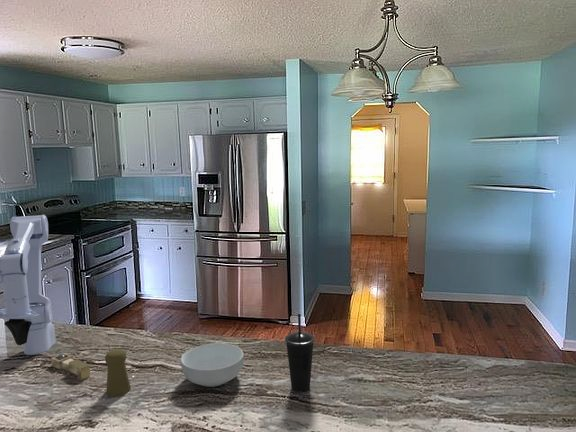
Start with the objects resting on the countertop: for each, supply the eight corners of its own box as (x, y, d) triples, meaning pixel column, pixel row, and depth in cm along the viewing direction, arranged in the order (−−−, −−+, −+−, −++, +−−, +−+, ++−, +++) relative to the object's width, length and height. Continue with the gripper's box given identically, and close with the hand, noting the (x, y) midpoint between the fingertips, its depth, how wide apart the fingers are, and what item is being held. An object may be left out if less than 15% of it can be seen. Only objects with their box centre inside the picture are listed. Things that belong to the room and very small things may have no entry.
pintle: (61, 366, 130) (60, 354, 130) (67, 366, 130) (66, 354, 130) (58, 369, 128) (56, 356, 128) (64, 369, 128) (62, 356, 128)
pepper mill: (122, 397, 113) (119, 357, 111) (101, 395, 114) (97, 355, 112) (135, 385, 119) (132, 346, 117) (115, 383, 120) (111, 345, 118)
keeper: (90, 380, 122) (89, 365, 121) (82, 383, 120) (80, 368, 119) (78, 373, 126) (77, 358, 125) (70, 376, 124) (68, 362, 123)
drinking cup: (318, 382, 118) (317, 310, 115) (310, 397, 111) (309, 321, 108) (291, 378, 120) (289, 307, 118) (282, 392, 113) (280, 318, 110)
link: (51, 366, 128) (50, 358, 128) (65, 360, 132) (64, 352, 132) (75, 376, 122) (74, 368, 122) (89, 370, 125) (88, 362, 125)
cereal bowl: (255, 371, 125) (254, 347, 124) (223, 401, 110) (222, 375, 109) (205, 360, 132) (204, 338, 131) (169, 388, 117) (167, 363, 116)
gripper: (-16, 298, 121) (-10, 345, 122) (20, 304, 115) (26, 353, 117) (9, 290, 127) (14, 335, 129) (44, 296, 121) (49, 342, 123)
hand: (21, 343), depth 123 cm, fingers closed
